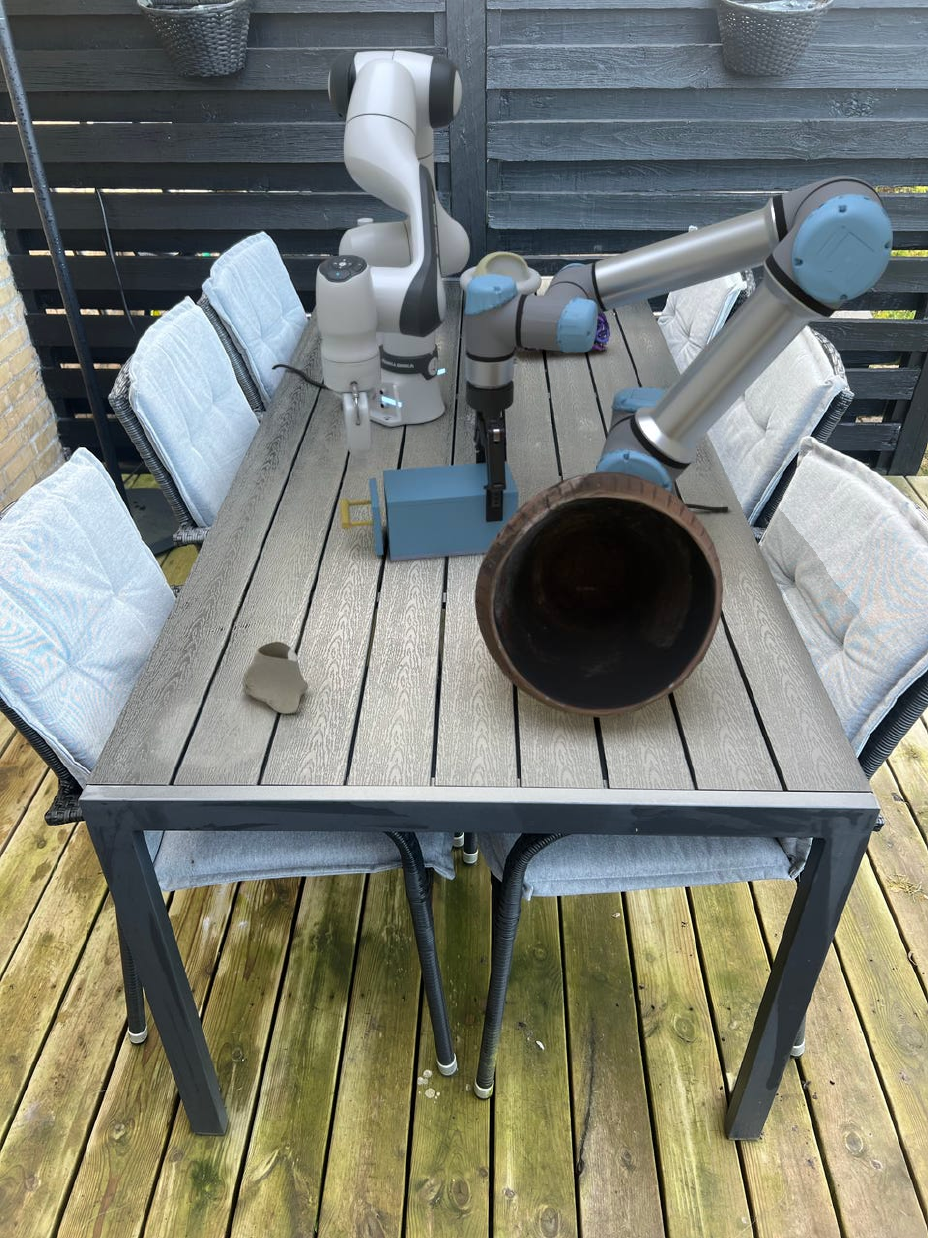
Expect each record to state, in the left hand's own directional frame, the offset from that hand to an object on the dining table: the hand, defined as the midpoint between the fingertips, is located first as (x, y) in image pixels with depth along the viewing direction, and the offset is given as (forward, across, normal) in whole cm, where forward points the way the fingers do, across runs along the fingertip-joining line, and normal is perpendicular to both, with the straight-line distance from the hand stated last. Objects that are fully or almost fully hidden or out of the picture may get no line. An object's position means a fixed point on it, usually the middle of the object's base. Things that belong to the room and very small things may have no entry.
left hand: (359, 452), depth 150 cm
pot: (+18, -36, -30) cm, 50 cm away
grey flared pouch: (+18, -38, +16) cm, 44 cm away
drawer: (+16, -1, -9) cm, 19 cm away
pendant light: (+16, +90, -8) cm, 92 cm away
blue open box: (+17, -1, -14) cm, 23 cm away
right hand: (+11, -1, -21) cm, 24 cm away
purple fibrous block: (+17, +79, -50) cm, 95 cm away
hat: (+16, +111, -44) cm, 121 cm away
